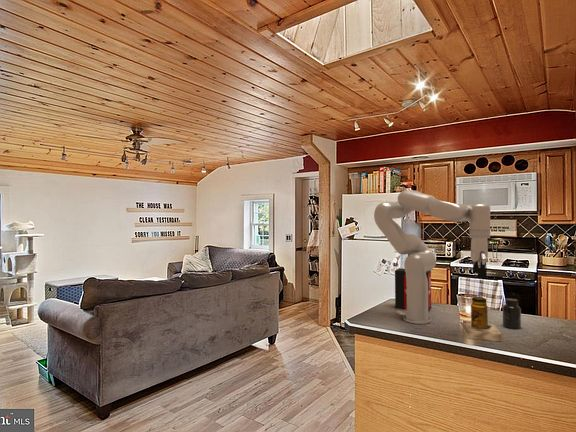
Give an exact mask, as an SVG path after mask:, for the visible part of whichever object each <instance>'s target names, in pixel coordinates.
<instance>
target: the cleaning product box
mask: <svg viewBox="0 0 576 432" xmlns="http://www.w3.org/2000/svg"><path fill="white" fill-rule="evenodd" d="M426 276H427V280H428V313H429V312H430V311H431V309H432V270H430V271H426ZM394 295H395V296H394V299H395V300H394V302H395V303H394V307H395V308H394V309H396V310H403V311H404V310H406V308H407V287H406V272H405V268H399V267H398V268H397V269H396V270H394Z"/></svg>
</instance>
